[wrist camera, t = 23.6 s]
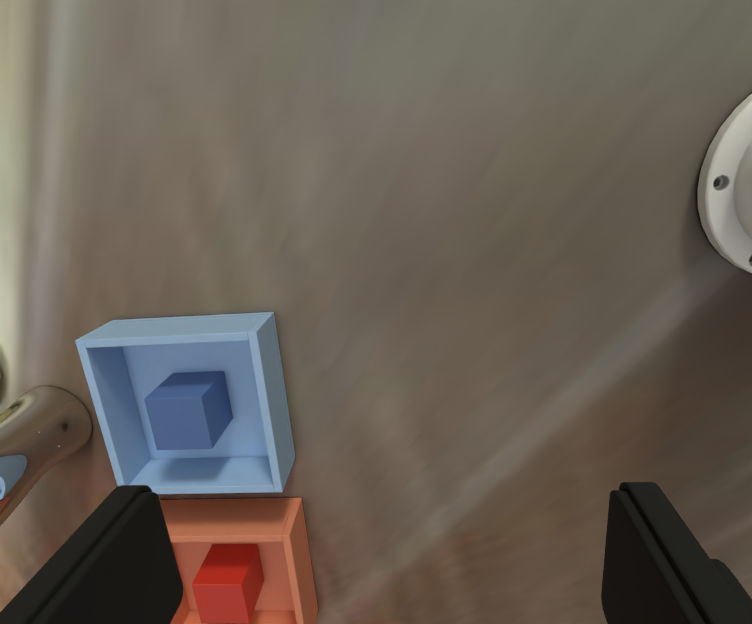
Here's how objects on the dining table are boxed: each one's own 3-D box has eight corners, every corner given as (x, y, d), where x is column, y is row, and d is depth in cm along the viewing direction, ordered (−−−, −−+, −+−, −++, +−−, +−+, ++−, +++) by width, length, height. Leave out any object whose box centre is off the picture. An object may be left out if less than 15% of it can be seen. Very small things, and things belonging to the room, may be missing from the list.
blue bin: (274, 311, 33) (256, 331, 30) (295, 457, 37) (282, 492, 33) (112, 319, 34) (74, 340, 31) (149, 460, 38) (119, 495, 34)
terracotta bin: (301, 497, 38) (289, 535, 34) (318, 609, 42) (309, 655, 38) (159, 499, 39) (132, 536, 35) (188, 608, 43) (166, 653, 39)
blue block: (224, 370, 34) (201, 396, 31) (233, 418, 36) (212, 449, 32) (172, 372, 35) (143, 398, 31) (183, 419, 36) (156, 450, 32)
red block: (257, 543, 39) (241, 584, 36) (264, 580, 41) (249, 623, 37) (211, 543, 40) (191, 584, 36) (220, 580, 41) (200, 623, 37)
